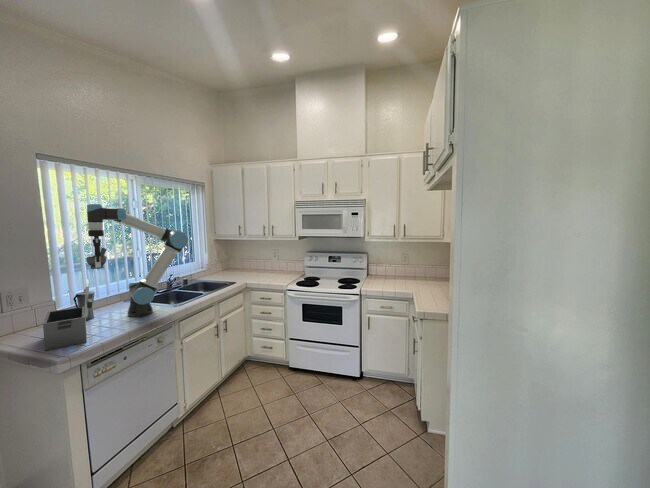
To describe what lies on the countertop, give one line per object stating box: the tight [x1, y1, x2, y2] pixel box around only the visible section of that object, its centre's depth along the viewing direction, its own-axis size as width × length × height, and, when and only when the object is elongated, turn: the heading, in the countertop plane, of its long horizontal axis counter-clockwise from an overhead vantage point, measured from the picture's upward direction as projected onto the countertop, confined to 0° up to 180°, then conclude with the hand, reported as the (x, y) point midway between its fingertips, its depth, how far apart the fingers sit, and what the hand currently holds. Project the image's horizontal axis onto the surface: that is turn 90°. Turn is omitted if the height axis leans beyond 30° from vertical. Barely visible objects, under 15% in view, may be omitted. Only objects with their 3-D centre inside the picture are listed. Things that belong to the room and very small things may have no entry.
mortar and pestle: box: [85, 247, 108, 270], centre depth 181 cm, size 11×9×12 cm
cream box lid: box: [84, 278, 93, 317], centre depth 166 cm, size 16×34×3 cm
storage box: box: [42, 306, 88, 352], centre depth 162 cm, size 16×30×14 cm, turn 39°
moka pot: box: [73, 288, 95, 321], centre depth 197 cm, size 10×15×20 cm, turn 2°
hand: (98, 266), depth 181 cm, fingers closed on mortar and pestle, 9 cm apart
